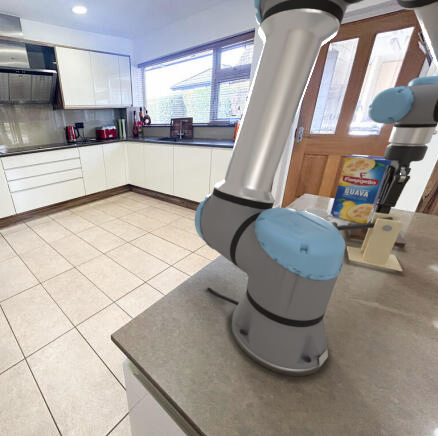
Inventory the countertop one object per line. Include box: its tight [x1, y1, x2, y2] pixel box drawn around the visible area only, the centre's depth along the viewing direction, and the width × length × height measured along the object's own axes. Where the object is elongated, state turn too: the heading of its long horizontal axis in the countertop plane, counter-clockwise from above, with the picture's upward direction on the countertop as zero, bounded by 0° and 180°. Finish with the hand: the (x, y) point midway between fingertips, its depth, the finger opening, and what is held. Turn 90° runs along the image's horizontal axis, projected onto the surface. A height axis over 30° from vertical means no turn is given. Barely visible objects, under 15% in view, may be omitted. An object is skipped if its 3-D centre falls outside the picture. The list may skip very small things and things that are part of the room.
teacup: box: [303, 207, 334, 222], centre depth 83 cm, size 10×10×5 cm
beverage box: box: [330, 154, 392, 224], centre depth 83 cm, size 7×11×22 cm, turn 37°
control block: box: [347, 223, 406, 248], centre depth 72 cm, size 12×9×4 cm
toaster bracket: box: [346, 211, 404, 272], centre depth 60 cm, size 10×8×13 cm
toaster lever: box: [330, 217, 393, 231], centre depth 61 cm, size 12×6×2 cm, turn 56°
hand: (377, 225), depth 71 cm, fingers closed
